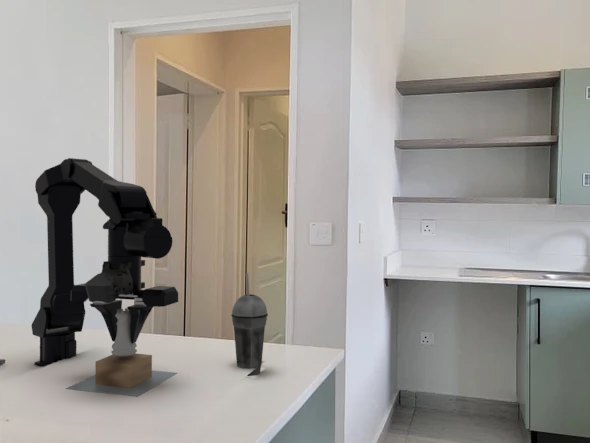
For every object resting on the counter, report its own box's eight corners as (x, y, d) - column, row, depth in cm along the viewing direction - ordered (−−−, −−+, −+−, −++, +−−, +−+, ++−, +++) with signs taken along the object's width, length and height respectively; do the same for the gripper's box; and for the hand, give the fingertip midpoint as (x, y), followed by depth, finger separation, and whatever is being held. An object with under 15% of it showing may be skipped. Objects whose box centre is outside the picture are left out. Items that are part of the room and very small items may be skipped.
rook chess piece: (129, 358, 96) (129, 312, 95) (106, 356, 96) (106, 311, 96) (141, 351, 100) (141, 308, 100) (119, 350, 101) (119, 307, 101)
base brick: (95, 384, 96) (95, 361, 96) (118, 373, 102) (118, 352, 102) (130, 388, 94) (130, 364, 94) (151, 376, 101) (151, 354, 101)
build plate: (64, 397, 93) (64, 388, 93) (112, 374, 107) (113, 366, 107) (137, 405, 90) (137, 396, 90) (177, 380, 103) (177, 372, 103)
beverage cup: (273, 370, 111) (274, 271, 110) (256, 379, 104) (257, 275, 104) (242, 365, 114) (243, 269, 113) (223, 374, 107) (224, 273, 107)
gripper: (49, 256, 93) (48, 348, 93) (147, 260, 88) (146, 357, 88) (90, 252, 103) (90, 334, 104) (180, 255, 98) (179, 342, 99)
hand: (124, 341), depth 98 cm, fingers closed on rook chess piece, 3 cm apart
